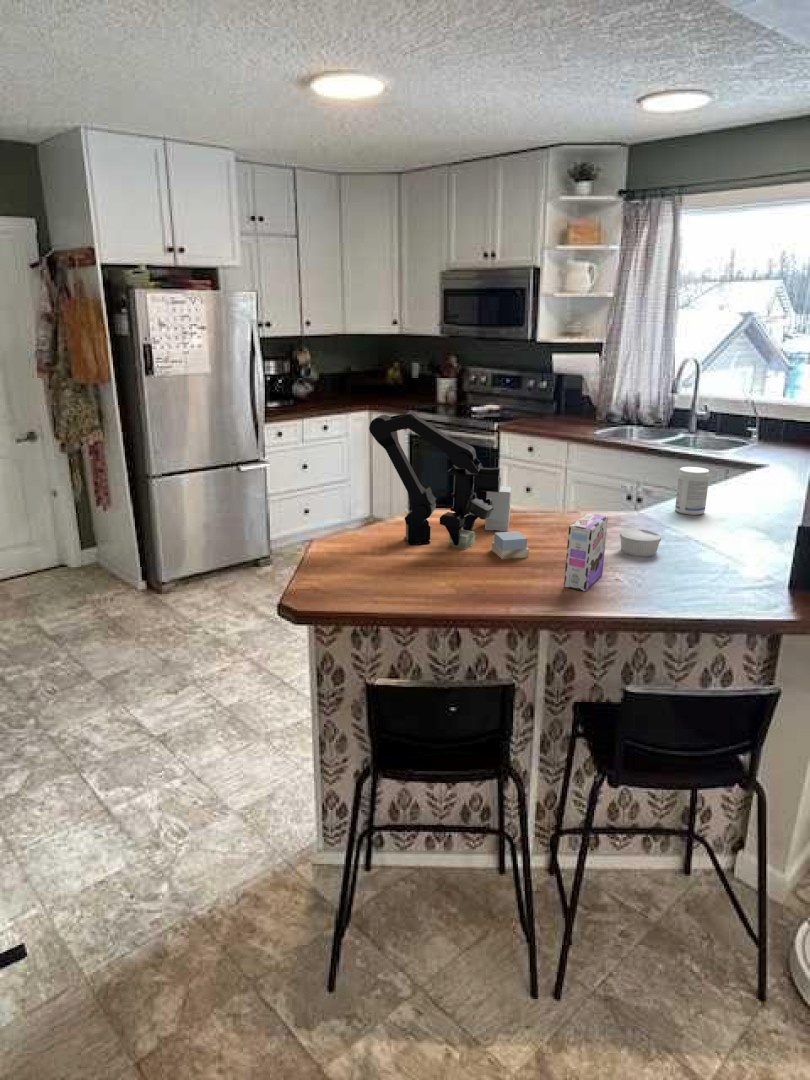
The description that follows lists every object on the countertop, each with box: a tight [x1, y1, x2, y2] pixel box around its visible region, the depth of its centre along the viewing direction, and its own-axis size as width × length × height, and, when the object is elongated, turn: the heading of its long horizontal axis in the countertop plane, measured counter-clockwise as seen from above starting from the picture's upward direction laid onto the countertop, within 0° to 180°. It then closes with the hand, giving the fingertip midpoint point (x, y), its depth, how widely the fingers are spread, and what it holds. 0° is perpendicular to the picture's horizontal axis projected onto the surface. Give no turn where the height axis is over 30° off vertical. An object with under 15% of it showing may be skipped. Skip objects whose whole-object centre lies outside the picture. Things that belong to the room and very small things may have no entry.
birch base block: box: [491, 541, 530, 560], centre depth 209 cm, size 8×8×3 cm
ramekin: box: [619, 528, 662, 558], centre depth 211 cm, size 11×11×5 cm
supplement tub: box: [674, 466, 710, 516], centre depth 248 cm, size 10×10×15 cm
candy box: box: [563, 512, 609, 592], centre depth 187 cm, size 14×6×16 cm, turn 148°
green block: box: [448, 528, 476, 550], centre depth 215 cm, size 6×6×4 cm
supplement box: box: [484, 485, 512, 532], centre depth 230 cm, size 7×7×13 cm
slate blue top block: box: [493, 530, 528, 551], centre depth 207 cm, size 7×7×3 cm
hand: (461, 541), depth 215 cm, fingers open, 7 cm apart
